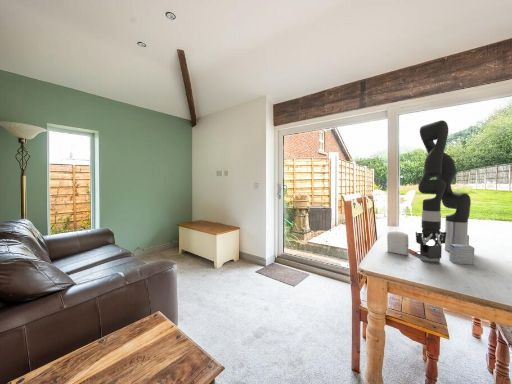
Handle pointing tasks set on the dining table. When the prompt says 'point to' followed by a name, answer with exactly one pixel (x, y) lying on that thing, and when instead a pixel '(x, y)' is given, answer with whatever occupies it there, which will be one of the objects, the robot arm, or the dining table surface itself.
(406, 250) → the photo printer
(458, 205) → the robot arm
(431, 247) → the dark grey metal cube
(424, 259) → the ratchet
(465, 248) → the medicine box
